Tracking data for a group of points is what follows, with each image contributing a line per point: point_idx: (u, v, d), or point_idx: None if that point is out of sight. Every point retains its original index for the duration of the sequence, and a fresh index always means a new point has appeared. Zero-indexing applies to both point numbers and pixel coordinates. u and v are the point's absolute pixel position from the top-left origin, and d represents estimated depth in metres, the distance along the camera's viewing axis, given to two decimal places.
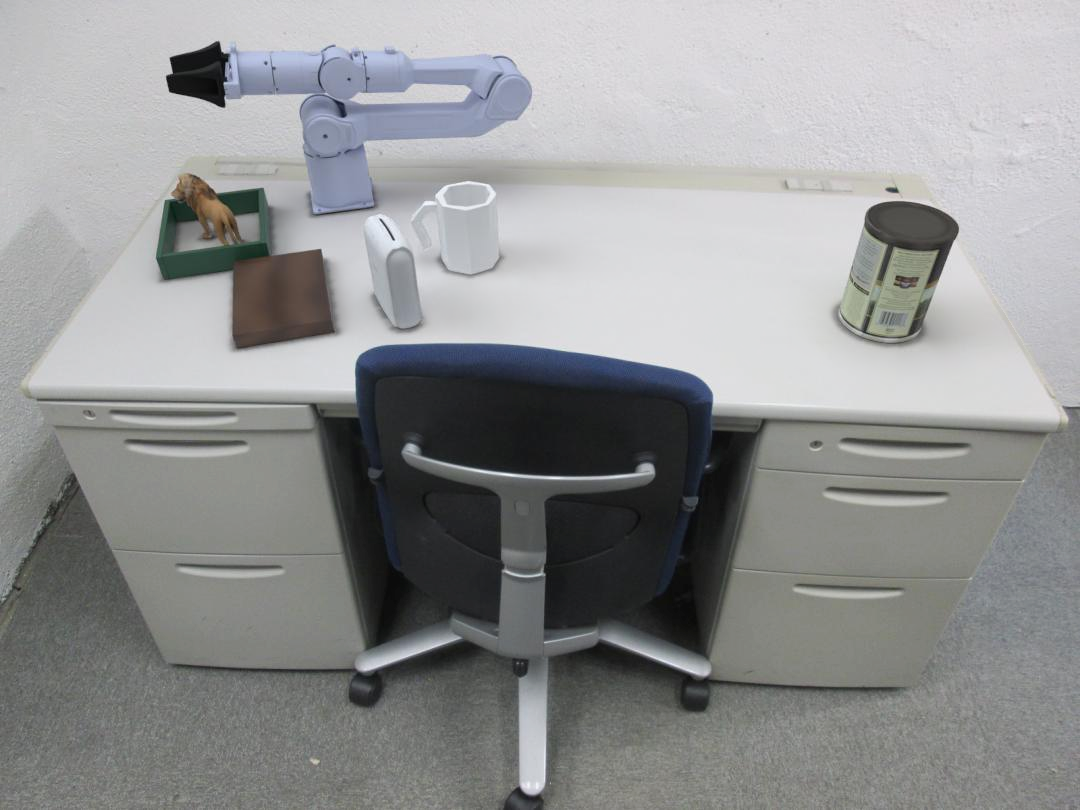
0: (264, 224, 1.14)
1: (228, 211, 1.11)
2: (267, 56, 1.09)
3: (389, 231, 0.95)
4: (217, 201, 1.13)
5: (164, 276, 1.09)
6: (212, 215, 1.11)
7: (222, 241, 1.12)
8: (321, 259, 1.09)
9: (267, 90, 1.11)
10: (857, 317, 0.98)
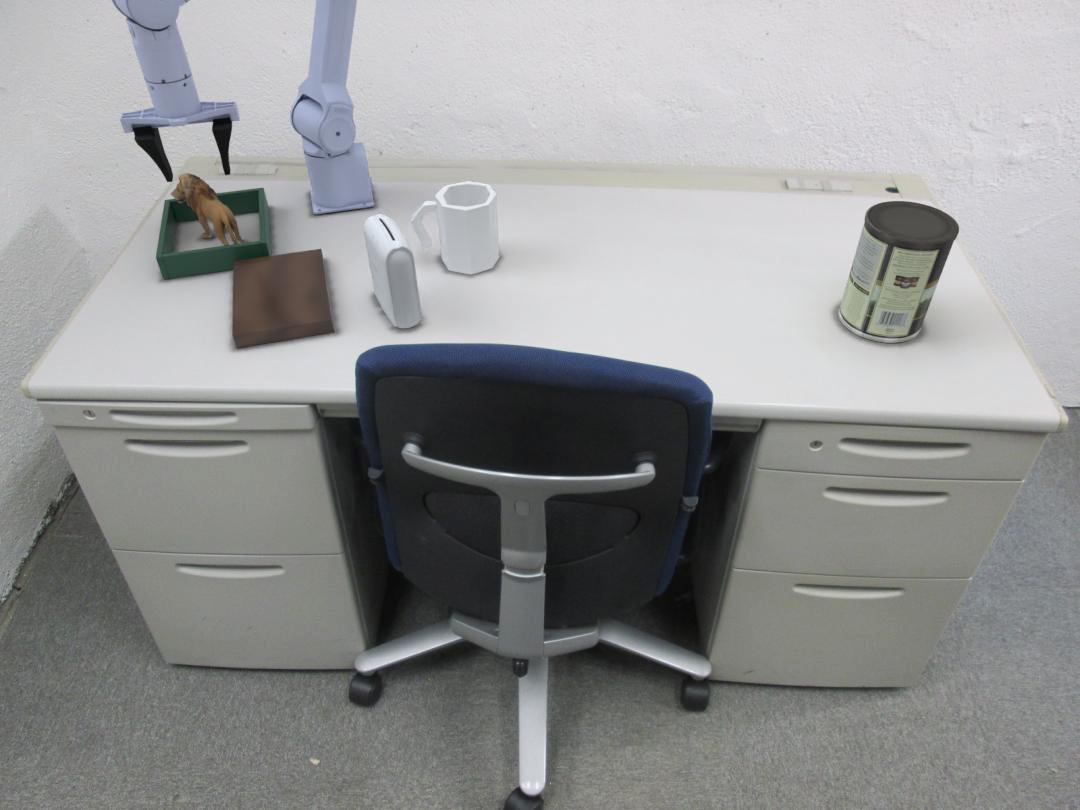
0: (264, 224, 1.14)
1: (228, 211, 1.11)
2: (177, 84, 1.00)
3: (389, 231, 0.95)
4: (217, 201, 1.13)
5: (164, 276, 1.09)
6: (212, 215, 1.11)
7: (222, 241, 1.12)
8: (321, 259, 1.09)
9: None
10: (857, 317, 0.98)
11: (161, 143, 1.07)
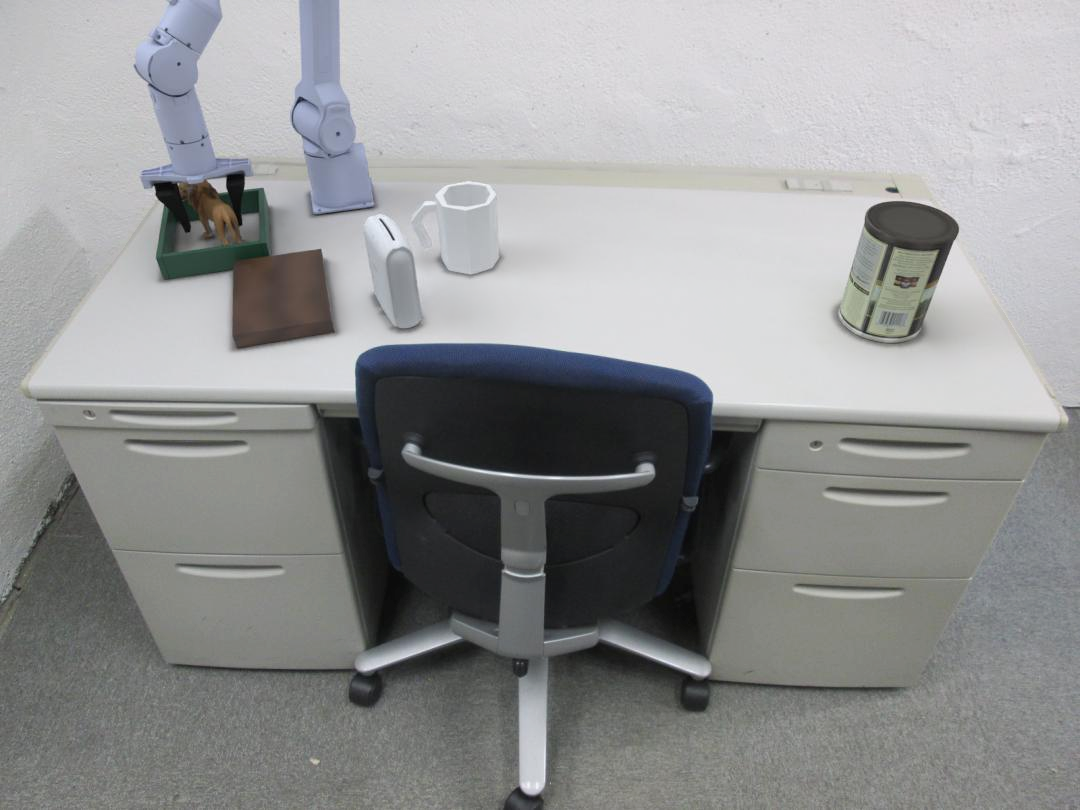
0: (264, 224, 1.14)
1: (230, 210, 1.11)
2: (194, 145, 1.05)
3: (389, 231, 0.95)
4: (219, 200, 1.13)
5: (164, 276, 1.09)
6: (214, 214, 1.11)
7: (223, 240, 1.12)
8: (321, 259, 1.09)
9: None
10: (857, 317, 0.98)
11: (180, 196, 1.13)
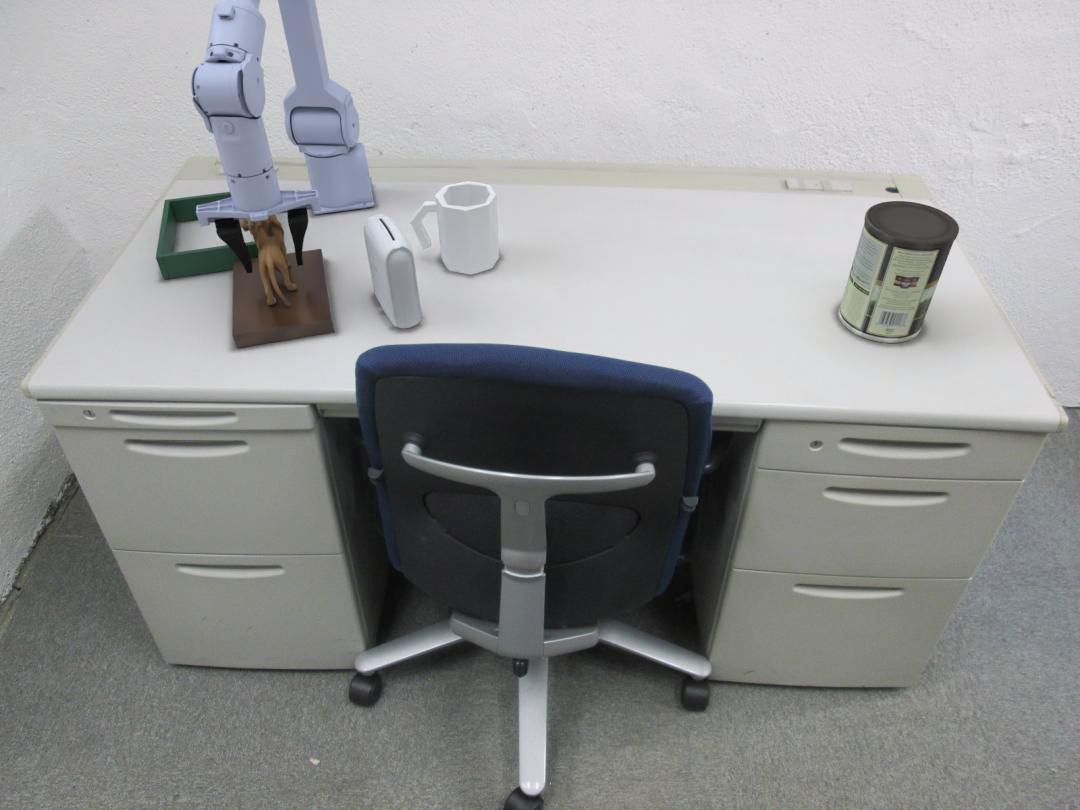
0: None
1: (276, 254, 0.98)
2: (259, 178, 0.93)
3: (389, 231, 0.95)
4: (274, 239, 1.01)
5: (164, 276, 1.09)
6: (258, 255, 0.99)
7: (264, 285, 1.00)
8: (321, 259, 1.09)
9: None
10: (857, 317, 0.98)
11: (241, 233, 1.00)
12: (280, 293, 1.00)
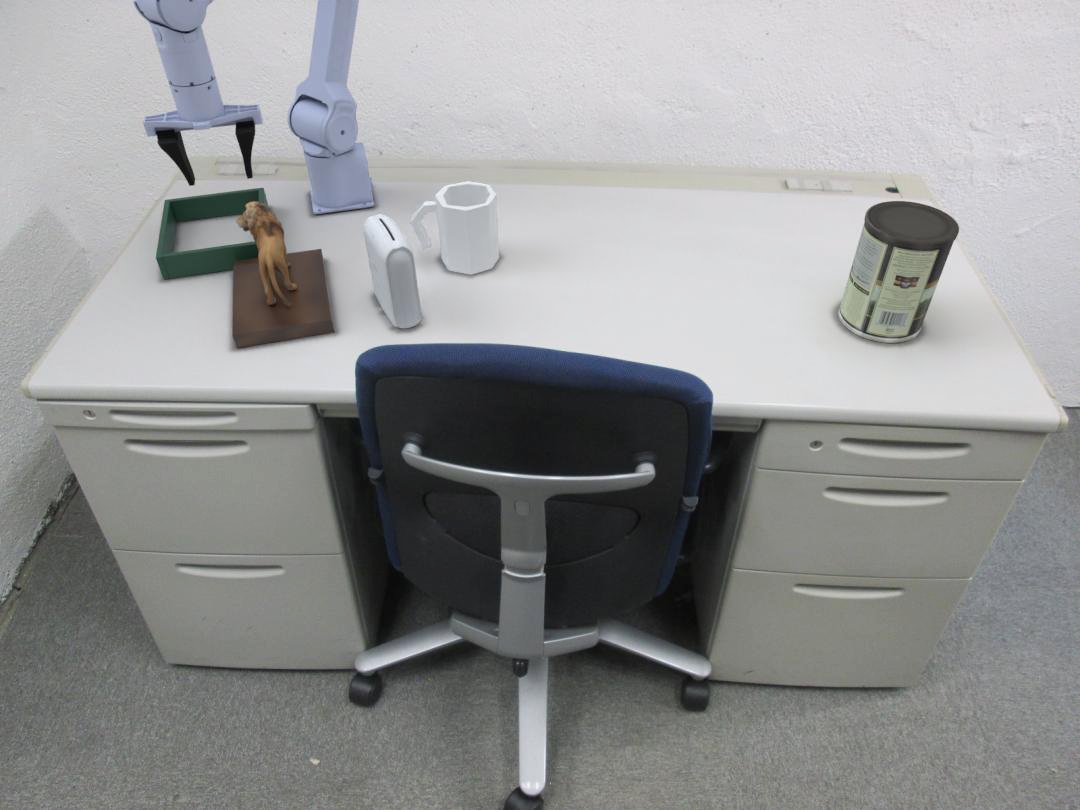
0: None
1: (276, 254, 0.98)
2: (201, 88, 0.99)
3: (389, 231, 0.95)
4: (274, 239, 1.01)
5: (164, 276, 1.09)
6: (258, 255, 0.99)
7: (264, 285, 1.00)
8: (321, 259, 1.09)
9: None
10: (857, 317, 0.98)
11: (183, 146, 1.07)
12: (280, 293, 1.00)
